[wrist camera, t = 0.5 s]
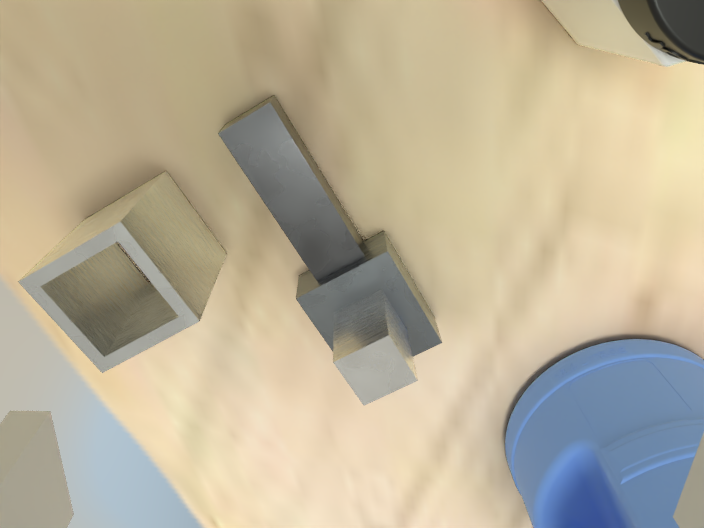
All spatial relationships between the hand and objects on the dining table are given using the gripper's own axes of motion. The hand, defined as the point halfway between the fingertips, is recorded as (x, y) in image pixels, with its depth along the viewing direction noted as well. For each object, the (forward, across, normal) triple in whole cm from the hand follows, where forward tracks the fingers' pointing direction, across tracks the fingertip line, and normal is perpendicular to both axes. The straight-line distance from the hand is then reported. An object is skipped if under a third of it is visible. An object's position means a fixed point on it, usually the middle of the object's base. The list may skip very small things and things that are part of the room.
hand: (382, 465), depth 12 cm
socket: (+24, -12, -5) cm, 27 cm away
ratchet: (+24, -1, -5) cm, 24 cm away
